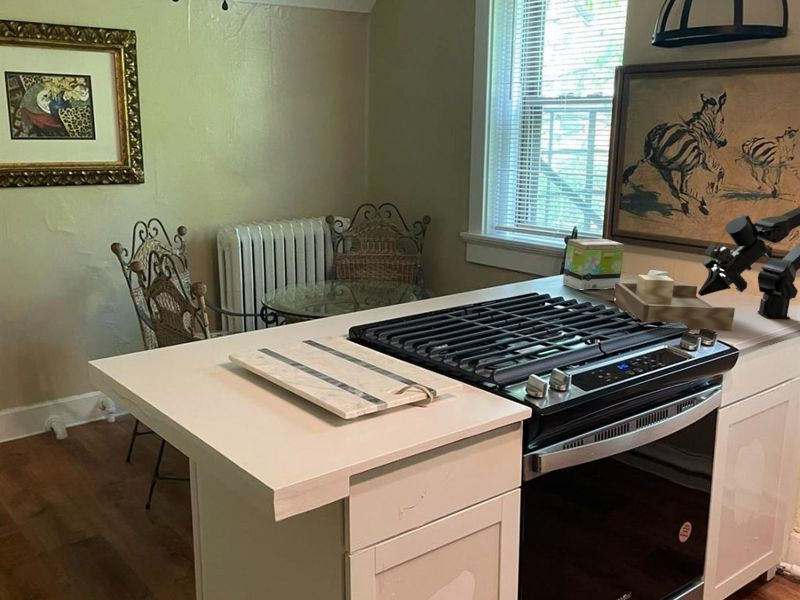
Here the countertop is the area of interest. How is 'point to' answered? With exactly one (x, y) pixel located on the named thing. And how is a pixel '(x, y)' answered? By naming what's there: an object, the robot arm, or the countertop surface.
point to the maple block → (655, 289)
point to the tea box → (593, 263)
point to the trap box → (675, 308)
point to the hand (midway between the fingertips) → (699, 294)
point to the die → (658, 273)
